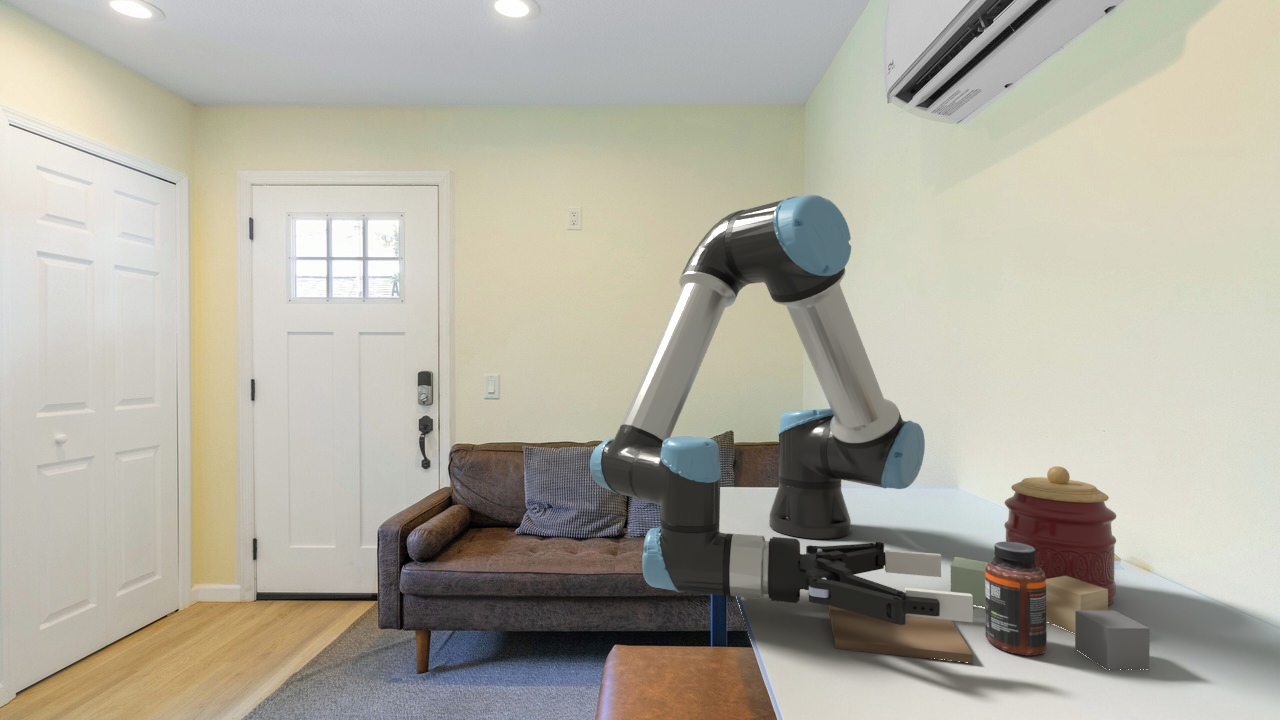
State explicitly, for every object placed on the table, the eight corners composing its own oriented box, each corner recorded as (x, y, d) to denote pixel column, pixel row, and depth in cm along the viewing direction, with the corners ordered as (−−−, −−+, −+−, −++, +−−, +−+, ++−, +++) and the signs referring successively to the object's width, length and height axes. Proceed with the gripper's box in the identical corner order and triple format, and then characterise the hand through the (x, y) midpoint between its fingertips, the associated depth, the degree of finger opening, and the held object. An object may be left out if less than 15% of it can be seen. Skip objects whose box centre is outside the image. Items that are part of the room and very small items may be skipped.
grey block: (1075, 650, 68) (1075, 610, 68) (1114, 650, 68) (1114, 610, 68) (1107, 671, 63) (1107, 628, 63) (1149, 671, 63) (1149, 628, 63)
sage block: (954, 592, 84) (954, 556, 84) (991, 599, 82) (991, 562, 82) (950, 602, 81) (950, 565, 81) (989, 610, 78) (989, 572, 78)
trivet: (827, 600, 81) (827, 592, 81) (940, 611, 78) (940, 603, 78) (835, 648, 67) (835, 639, 67) (972, 664, 64) (972, 654, 64)
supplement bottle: (1050, 644, 69) (1051, 545, 69) (1041, 664, 64) (1042, 558, 64) (991, 629, 73) (991, 535, 73) (979, 646, 68) (979, 546, 68)
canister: (1039, 609, 79) (1040, 474, 79) (985, 574, 92) (986, 458, 92) (1141, 611, 78) (1142, 475, 78) (1072, 575, 91) (1073, 459, 91)
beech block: (1038, 620, 76) (1038, 580, 76) (1065, 614, 77) (1065, 575, 77) (1080, 637, 71) (1080, 594, 71) (1107, 630, 73) (1107, 589, 73)
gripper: (770, 565, 87) (930, 579, 82) (762, 643, 63) (988, 670, 57) (770, 513, 87) (930, 524, 82) (762, 571, 63) (989, 592, 57)
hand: (955, 584), depth 69 cm, fingers open, 13 cm apart
